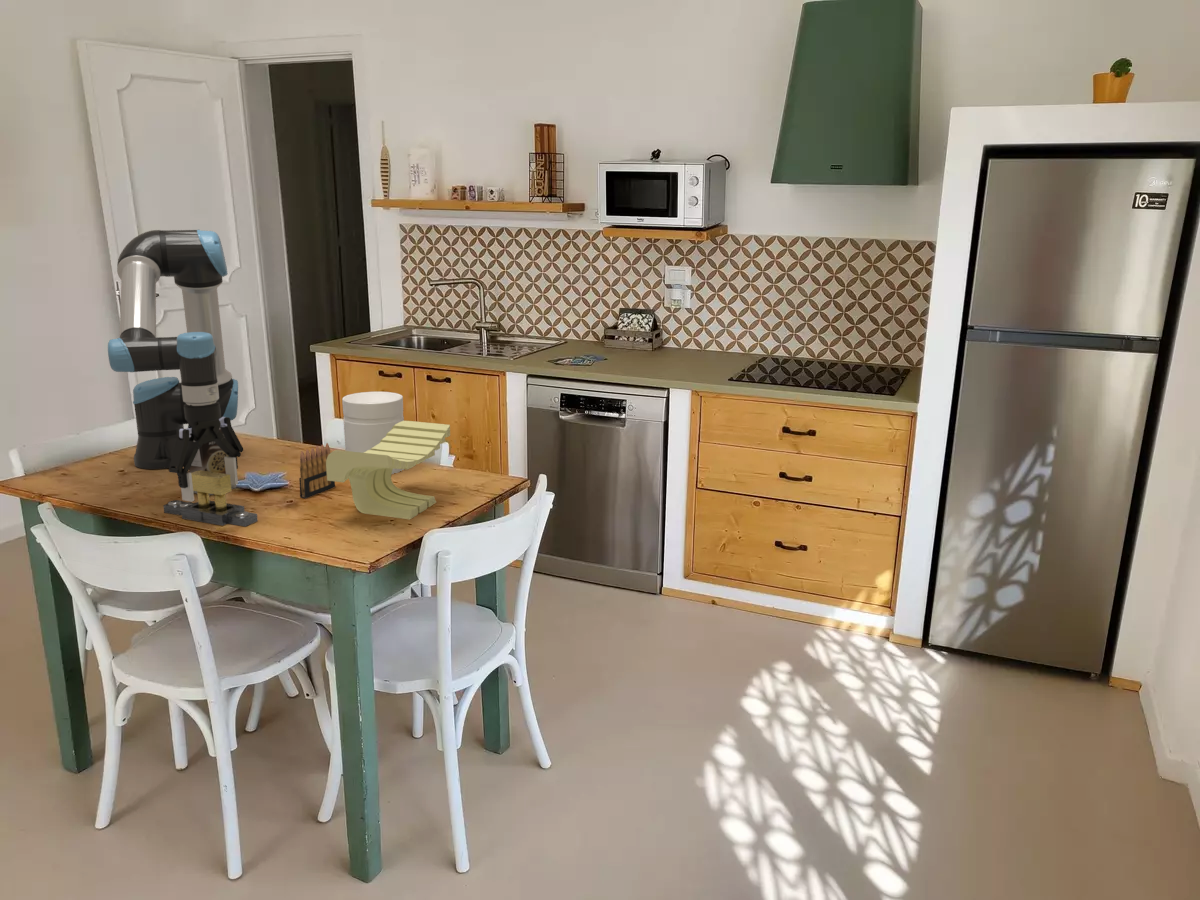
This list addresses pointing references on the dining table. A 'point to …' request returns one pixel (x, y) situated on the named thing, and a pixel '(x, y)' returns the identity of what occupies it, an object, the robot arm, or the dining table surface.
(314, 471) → the ammunition clip
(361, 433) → the canister
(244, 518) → the chain joint
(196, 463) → the coffee box
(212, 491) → the tan piece
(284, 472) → the dining table surface
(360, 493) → the slatted curved stool
